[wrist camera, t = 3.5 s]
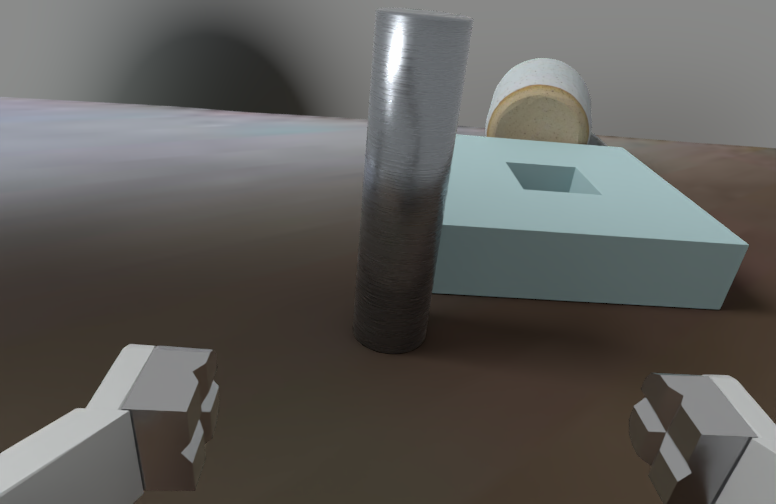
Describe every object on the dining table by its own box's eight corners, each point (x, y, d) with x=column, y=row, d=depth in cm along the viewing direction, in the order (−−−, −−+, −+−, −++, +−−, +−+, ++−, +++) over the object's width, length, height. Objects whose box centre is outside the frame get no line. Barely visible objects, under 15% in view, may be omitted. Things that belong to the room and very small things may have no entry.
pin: (352, 351, 21) (376, 14, 15) (353, 307, 24) (375, 5, 18) (429, 355, 21) (481, 24, 16) (422, 311, 24) (465, 13, 18)
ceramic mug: (474, 177, 40) (495, 67, 36) (483, 145, 47) (502, 50, 43) (626, 205, 38) (665, 93, 34) (612, 168, 45) (643, 71, 41)
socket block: (430, 292, 25) (440, 224, 24) (409, 181, 38) (415, 131, 36) (720, 309, 26) (749, 245, 25) (607, 195, 39) (622, 147, 37)
